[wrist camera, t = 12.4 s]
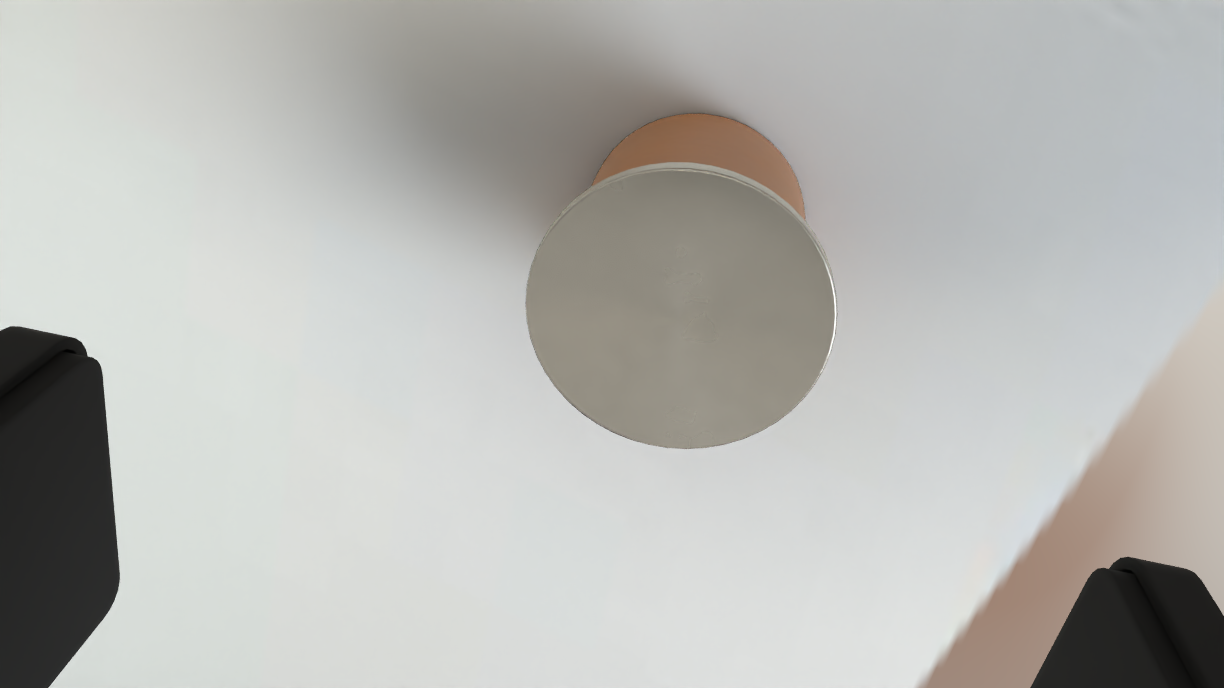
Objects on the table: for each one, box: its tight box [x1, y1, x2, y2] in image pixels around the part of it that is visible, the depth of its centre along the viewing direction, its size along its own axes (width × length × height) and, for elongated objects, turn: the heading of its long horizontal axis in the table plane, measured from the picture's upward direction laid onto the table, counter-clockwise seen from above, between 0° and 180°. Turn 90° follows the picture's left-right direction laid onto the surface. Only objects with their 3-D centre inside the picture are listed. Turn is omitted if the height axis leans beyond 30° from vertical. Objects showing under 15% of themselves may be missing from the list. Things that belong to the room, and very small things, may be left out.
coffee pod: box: [525, 114, 837, 449], centre depth 16 cm, size 4×4×4 cm
